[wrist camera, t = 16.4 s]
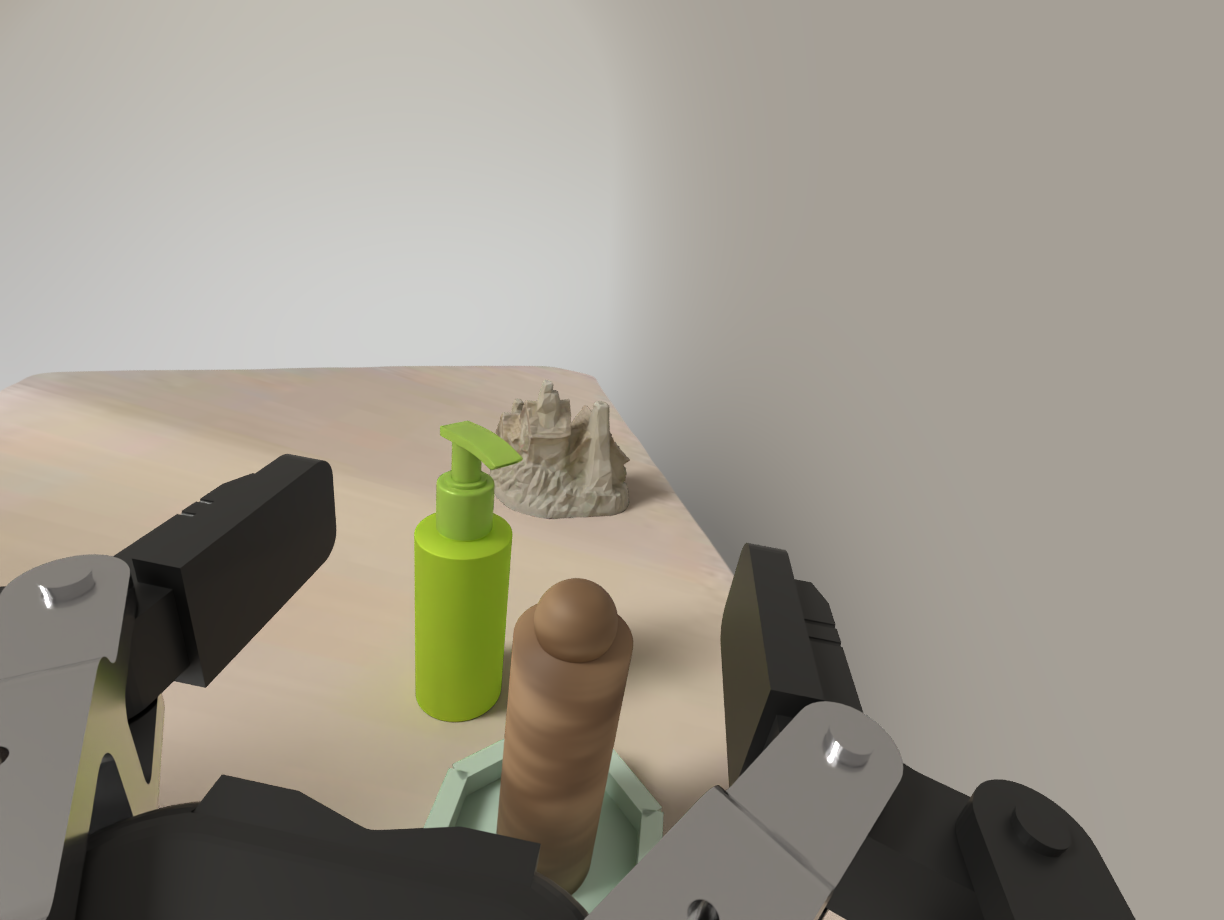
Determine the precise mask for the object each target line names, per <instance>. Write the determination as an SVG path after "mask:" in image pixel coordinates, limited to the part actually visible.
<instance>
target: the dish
mask: <svg viewBox="0 0 1224 920" xmlns="http://www.w3.org/2000/svg"><path fill="white" fill-rule="evenodd" d="M503 749H504V739H502V740H500V741H498V742H496V743H494V744H492V745H490V746H488V747H486V748H484V749H482V750H480V751H478V752H476V753H474V754H472V755H470V756H468V757H466V758H464V759H462V760H460V761H458V762H456V763H454V764H453V769H451V768H449V769H448V771H447V774H446V776H445V778H444V781H443V783H442V785H441V788H440V790H439V793H438V795H437V797H436V800H435V802H434V804H433V807H432V809H431V811H430V814H429V816H428V818H427V821H426V823H425V826H424V828H436V827H457V826H462V827H467V828H471V829H476V830H480V831H485V832H490V833H494V834H496V830H497V818H498V807H499V795H500V784H501V772H502V761H503ZM661 808H662V807H661V806H660V804H659V803H658V802H657V801H656V800H655V798H654V797H653V796H652V795H651V794H650V792H649V791H648V790H647V789H646V788H645V786H644V785H643V784H642V783H641V782H640V780H639V779H638V778H637V777H636V776H635V774H634V773H633V772H632V771H631V770H630V768H629V767H628V766H627V765H626V764H625V762H624V761H623V760H622V759H621V758H620V756H619V755H618V754H617V753H616V752H615V750H614V749H613V752H612V757H611V762H610V767H609V773H608V778H607V783H606V788H605V793H604V798H603V803H602V808H601V813H600V819H599V824H598V829H597V834H596V839H595V844H594V849H593V854H592V859H591V864H590V869H589V872H588V874H587V877H586V878H585V880H584V882H583V883H582V885H581V886H580V887H579V889H578V890H577V891H576V892H575V893H573V894H572V896H573V897H574V898H575V899H576V900H577V901H578V902H579V903H580V904H581V905H582V906H583V907H584V908H585V909H586V911H587V912H588V913H589V914H590V913H591V912H592V911H593V909H594V908H595V907H596V906H597V905H598V904H599V903H600V902H601V901H602V900H603V899H604V898H605V897H606V896H607V895H608V894H609V893H610V892H611V891H612V890H613V889H614V888H615V887H616V885H617V884H618V883H619V882H620V881H621V880H622V879H623V878H624V877H625V876H626V875H627V874H628V873H629V872H630V871H631V870H632V869H633V868H634V867H635V866H636V865H637V864H638V863H639V861H640V860H641V859H642V858H643V857H644V856H645V855H646V854H647V853H648V852H649V851H650V850H651V849H652V848H653V847H654V846H655V845H656V844H657V843H658V842H659V841H660V840H661V839H662V836H663V815H664V812H661Z"/></svg>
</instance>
